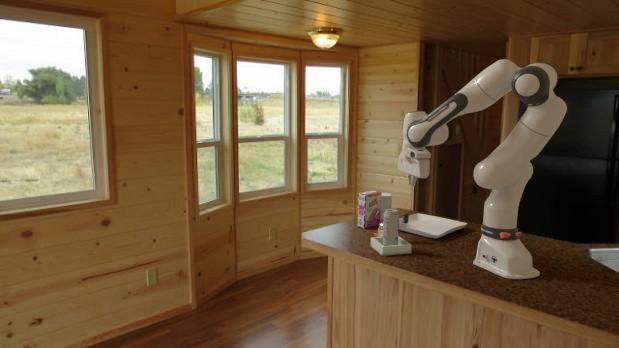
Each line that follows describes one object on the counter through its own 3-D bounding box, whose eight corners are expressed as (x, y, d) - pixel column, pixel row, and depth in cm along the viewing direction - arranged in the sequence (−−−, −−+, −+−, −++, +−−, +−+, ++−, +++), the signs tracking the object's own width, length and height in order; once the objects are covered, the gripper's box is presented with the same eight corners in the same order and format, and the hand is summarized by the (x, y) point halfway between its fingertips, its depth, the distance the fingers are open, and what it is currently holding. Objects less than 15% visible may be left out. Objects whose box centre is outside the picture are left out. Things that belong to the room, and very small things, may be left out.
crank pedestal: (394, 243, 177) (394, 230, 176) (381, 244, 176) (381, 231, 175) (381, 233, 191) (381, 221, 190) (368, 234, 189) (368, 222, 188)
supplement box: (389, 216, 219) (390, 192, 217) (391, 220, 211) (392, 195, 209) (375, 216, 219) (376, 192, 217) (376, 220, 212) (376, 195, 210)
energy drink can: (398, 249, 167) (400, 212, 165) (383, 249, 167) (384, 212, 165) (396, 244, 173) (398, 208, 170) (381, 244, 173) (382, 208, 171)
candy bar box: (364, 229, 197) (365, 194, 194) (356, 227, 200) (357, 192, 198) (380, 225, 204) (381, 191, 201) (372, 222, 207) (373, 189, 205)
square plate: (468, 230, 197) (468, 222, 196) (437, 243, 178) (437, 234, 178) (417, 219, 216) (417, 211, 216) (384, 229, 198) (385, 221, 197)
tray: (411, 253, 165) (411, 244, 165) (382, 255, 162) (382, 247, 162) (397, 243, 177) (398, 235, 176) (370, 245, 174) (370, 237, 173)
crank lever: (381, 230, 176) (382, 216, 175) (377, 226, 180) (377, 213, 180) (411, 228, 178) (411, 214, 177) (406, 225, 183) (406, 211, 182)
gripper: (394, 149, 180) (393, 181, 183) (418, 154, 161) (416, 190, 163) (408, 148, 182) (407, 180, 184) (433, 154, 162) (431, 190, 165)
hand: (411, 185), depth 173 cm, fingers closed
